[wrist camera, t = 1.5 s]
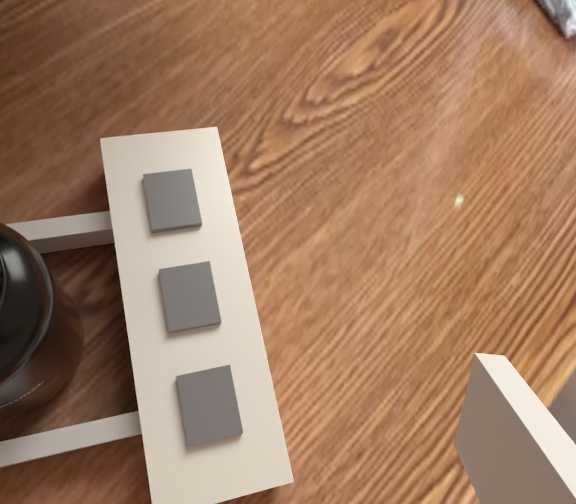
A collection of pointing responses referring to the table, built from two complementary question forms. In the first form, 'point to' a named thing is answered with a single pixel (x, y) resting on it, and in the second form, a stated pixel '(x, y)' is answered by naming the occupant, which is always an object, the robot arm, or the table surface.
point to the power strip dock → (177, 324)
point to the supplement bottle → (33, 328)
